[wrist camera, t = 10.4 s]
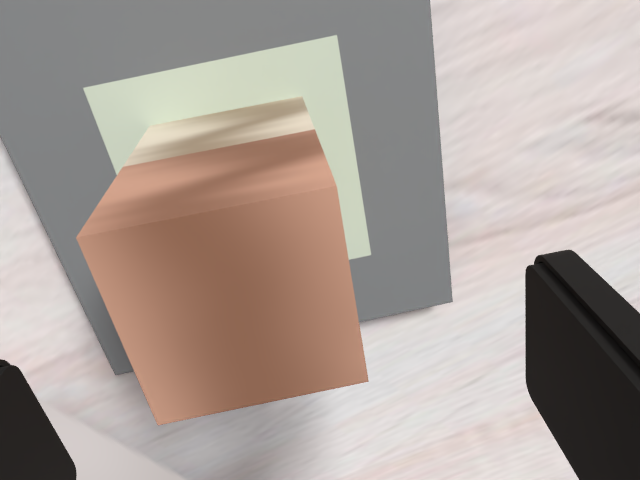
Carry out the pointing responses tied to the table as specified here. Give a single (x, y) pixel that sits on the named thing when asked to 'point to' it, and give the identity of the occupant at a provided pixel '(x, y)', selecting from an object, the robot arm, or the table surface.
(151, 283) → the brick stack
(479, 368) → the table surface
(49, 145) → the base board
